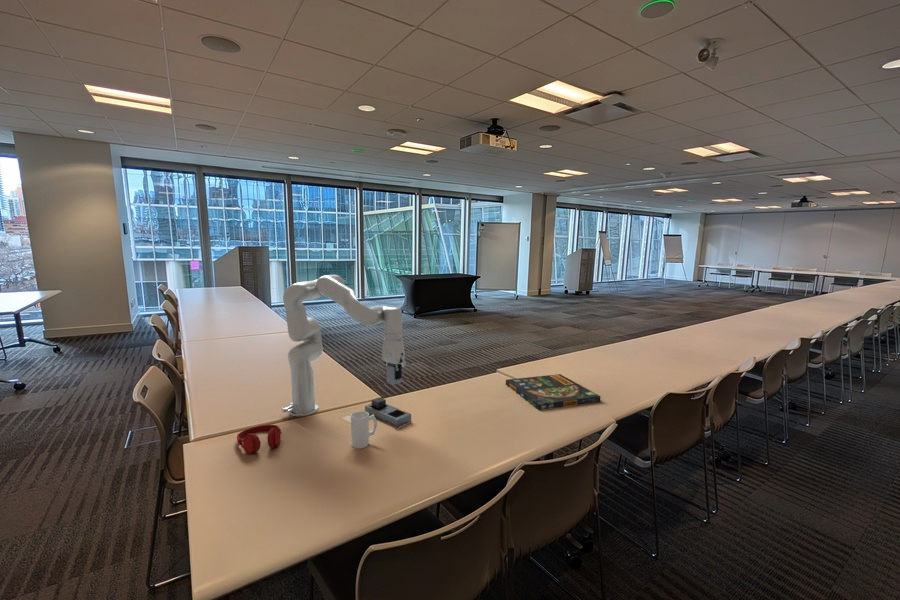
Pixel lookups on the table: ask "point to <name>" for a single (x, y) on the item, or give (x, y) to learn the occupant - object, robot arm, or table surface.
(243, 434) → the headphones
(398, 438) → the table surface
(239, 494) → the table surface
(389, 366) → the plug
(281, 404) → the table surface
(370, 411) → the pdu strip
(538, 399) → the pizza box
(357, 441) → the mug
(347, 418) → the coaster
